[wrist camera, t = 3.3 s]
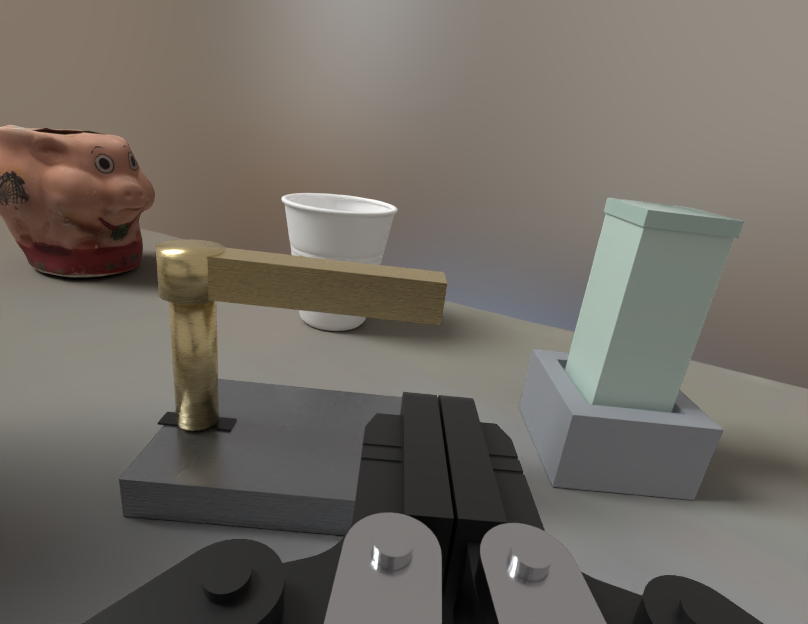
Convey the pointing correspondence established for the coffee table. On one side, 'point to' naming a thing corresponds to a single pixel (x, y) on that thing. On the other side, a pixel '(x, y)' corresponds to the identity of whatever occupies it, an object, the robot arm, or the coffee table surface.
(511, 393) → the coffee table surface
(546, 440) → the housing
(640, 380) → the cover
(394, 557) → the robot arm
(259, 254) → the brown piece
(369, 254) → the cup
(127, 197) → the decorative planter
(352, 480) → the plate
